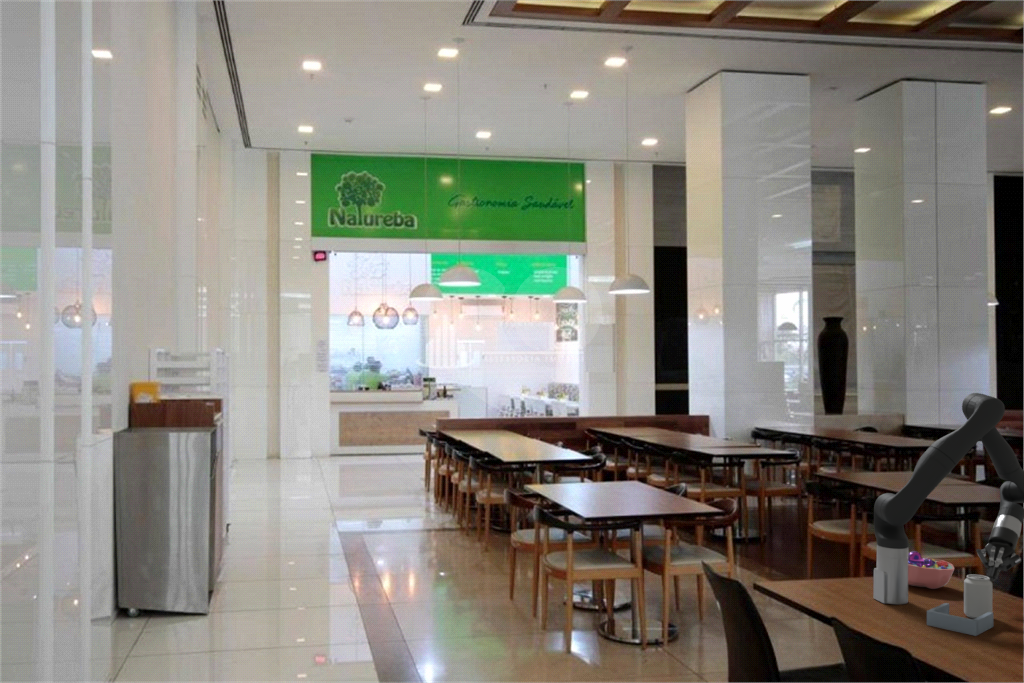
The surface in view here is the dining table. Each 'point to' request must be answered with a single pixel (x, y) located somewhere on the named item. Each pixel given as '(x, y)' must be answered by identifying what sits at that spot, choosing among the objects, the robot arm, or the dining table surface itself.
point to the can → (977, 595)
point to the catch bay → (958, 621)
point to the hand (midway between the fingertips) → (990, 579)
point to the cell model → (928, 571)
